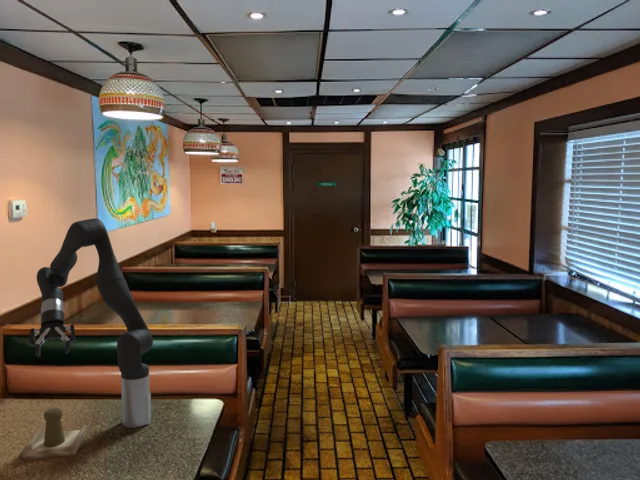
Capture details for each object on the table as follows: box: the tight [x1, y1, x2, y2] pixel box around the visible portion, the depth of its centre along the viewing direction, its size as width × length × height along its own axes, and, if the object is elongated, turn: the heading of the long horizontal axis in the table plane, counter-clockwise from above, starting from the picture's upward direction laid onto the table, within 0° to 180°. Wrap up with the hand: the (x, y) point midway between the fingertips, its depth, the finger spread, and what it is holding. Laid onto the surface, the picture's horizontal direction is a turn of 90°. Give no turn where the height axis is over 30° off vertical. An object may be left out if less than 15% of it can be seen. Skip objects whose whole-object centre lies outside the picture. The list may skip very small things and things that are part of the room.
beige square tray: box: [21, 424, 89, 461], centre depth 159 cm, size 15×15×2 cm
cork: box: [43, 407, 65, 447], centre depth 158 cm, size 6×6×11 cm
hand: (53, 354), depth 171 cm, fingers open, 8 cm apart
